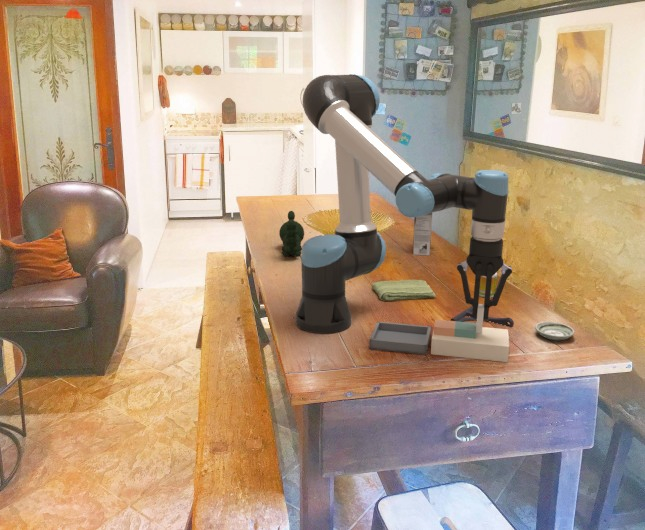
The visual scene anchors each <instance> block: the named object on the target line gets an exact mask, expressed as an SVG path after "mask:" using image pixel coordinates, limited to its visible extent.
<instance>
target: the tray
mask: <svg viewBox="0 0 645 530" xmlns="http://www.w3.org/2000/svg"><path fill="white" fill-rule="evenodd" d="M431 331H432V326H430V325H429V326H427V325H418V324H407V323H396V322H387V321H376V324H375V326H374V329H373V331H372V333H371V335H370V337H369V343H368V344H369V346H368V349H369V350H376V351H384V352H385V351H386V352H396V353H406V354H415V355H422V356H423V355H425V356H427V353H428V349H429V346H430V341H431V337H432V336H431V335H432V333H431Z"/></svg>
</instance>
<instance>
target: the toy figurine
mask: <svg viewBox="0 0 645 530" xmlns="http://www.w3.org/2000/svg"><path fill="white" fill-rule="evenodd" d="M287 213H288V214H287V219H288V220H287V221H286V222H284V223H283V224H282V225H281V226H280V228H279V231H278V232H279V238H280V241H282V247H281V249H282V250H281V251H282V256H284V257H285V258H288V257H289V256H294V257H297V258H298V257H301V255H302V247H303V246H302V245H301V244H302V242H303V239H304V238H305V230H304V227H303V225H302V224H301V223H300V222H298V221H296V220H295V217H296V215H295V214H296V213H295V212H294V211H293V210H290V211H288V212H287Z"/></svg>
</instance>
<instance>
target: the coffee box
mask: <svg viewBox="0 0 645 530" xmlns="http://www.w3.org/2000/svg"><path fill="white" fill-rule="evenodd" d="M432 224H433V213H430V214H427V215H425V216H419V217H413V237H412V238H413V239H412V240H413V241H412V242H413V244H412V246H413V247H412V249H413V250H412V251H413V252H412V253H413V255H414V256H415V255H417V256H431V244H432V241H431V239H432Z"/></svg>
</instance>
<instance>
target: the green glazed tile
mask: <svg viewBox="0 0 645 530" xmlns="http://www.w3.org/2000/svg"><path fill="white" fill-rule="evenodd" d="M454 337H464V338H476V322H470V321H464V322H458V321H456V323H455V334H454Z"/></svg>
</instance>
